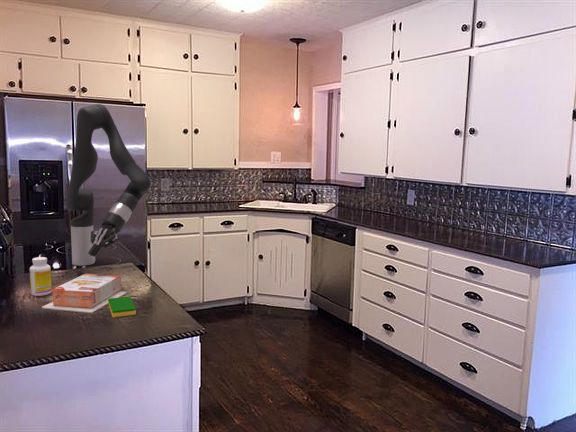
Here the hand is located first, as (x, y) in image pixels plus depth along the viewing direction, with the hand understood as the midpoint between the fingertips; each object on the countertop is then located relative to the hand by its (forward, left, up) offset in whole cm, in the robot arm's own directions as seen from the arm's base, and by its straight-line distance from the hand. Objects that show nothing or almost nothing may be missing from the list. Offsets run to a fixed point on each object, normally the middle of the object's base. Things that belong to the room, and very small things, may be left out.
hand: (91, 255), depth 172 cm
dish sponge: (+13, +19, -15) cm, 27 cm away
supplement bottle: (+6, -16, -14) cm, 22 cm away
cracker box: (-4, +2, -10) cm, 11 cm away
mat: (+8, +3, -14) cm, 16 cm away
